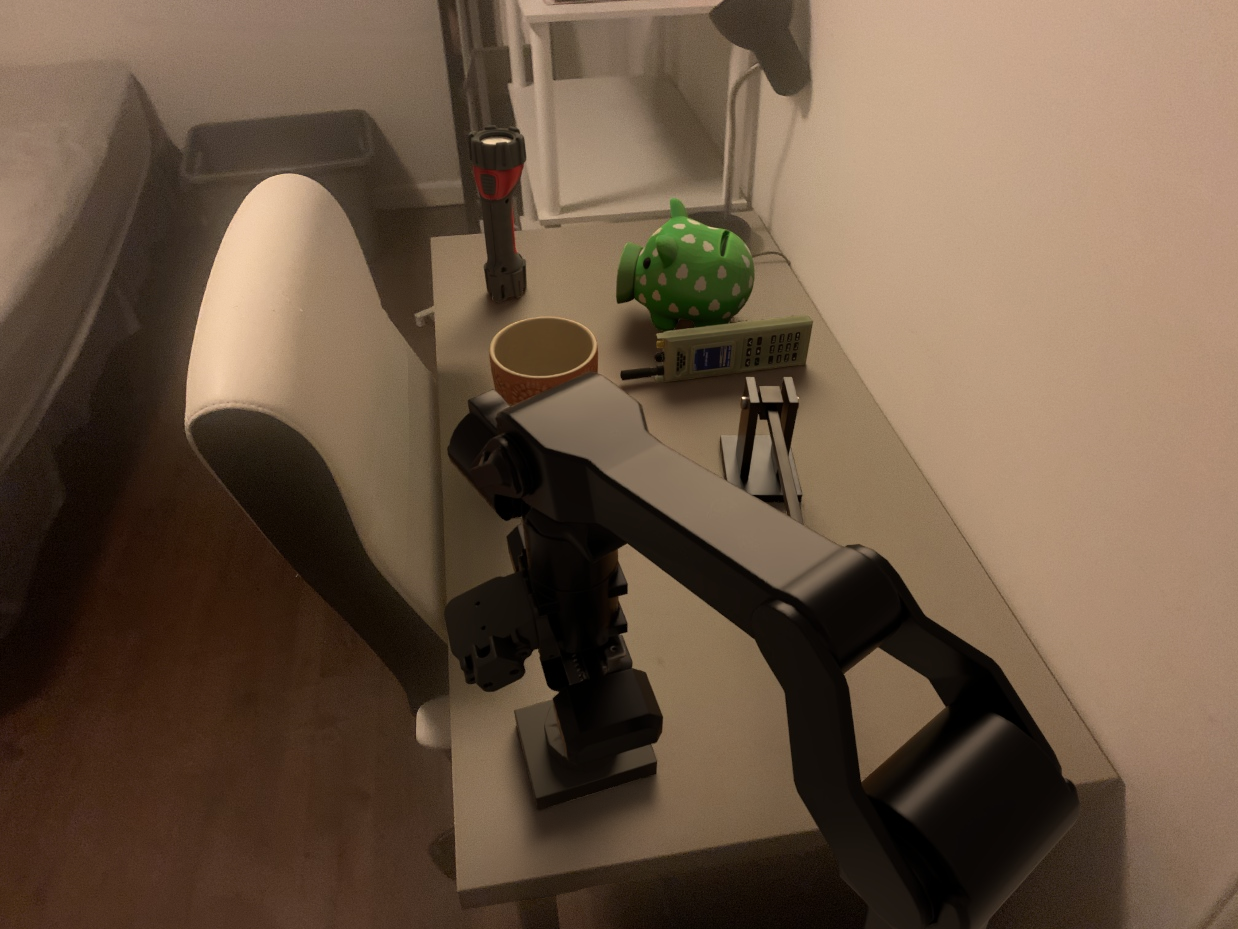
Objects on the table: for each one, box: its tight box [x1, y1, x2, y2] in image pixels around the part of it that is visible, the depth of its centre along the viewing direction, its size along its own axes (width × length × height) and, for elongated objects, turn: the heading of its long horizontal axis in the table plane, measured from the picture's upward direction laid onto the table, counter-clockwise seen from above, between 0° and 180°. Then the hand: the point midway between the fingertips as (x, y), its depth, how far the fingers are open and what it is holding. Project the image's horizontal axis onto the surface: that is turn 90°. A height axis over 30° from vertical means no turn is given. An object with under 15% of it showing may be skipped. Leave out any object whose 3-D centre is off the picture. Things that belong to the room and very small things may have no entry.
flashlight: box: [467, 124, 528, 304], centre depth 113 cm, size 8×8×23 cm
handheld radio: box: [619, 314, 814, 384], centre depth 103 cm, size 7×3×25 cm
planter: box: [488, 316, 599, 405], centre depth 95 cm, size 12×12×11 cm
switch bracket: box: [719, 376, 803, 504], centre depth 88 cm, size 10×8×12 cm
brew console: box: [513, 698, 658, 812], centre depth 66 cm, size 10×8×4 cm
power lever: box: [757, 385, 805, 525], centre depth 76 cm, size 26×3×3 cm, turn 0°
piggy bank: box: [615, 197, 756, 332], centre depth 110 cm, size 14×18×15 cm
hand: (581, 690), depth 61 cm, fingers closed
